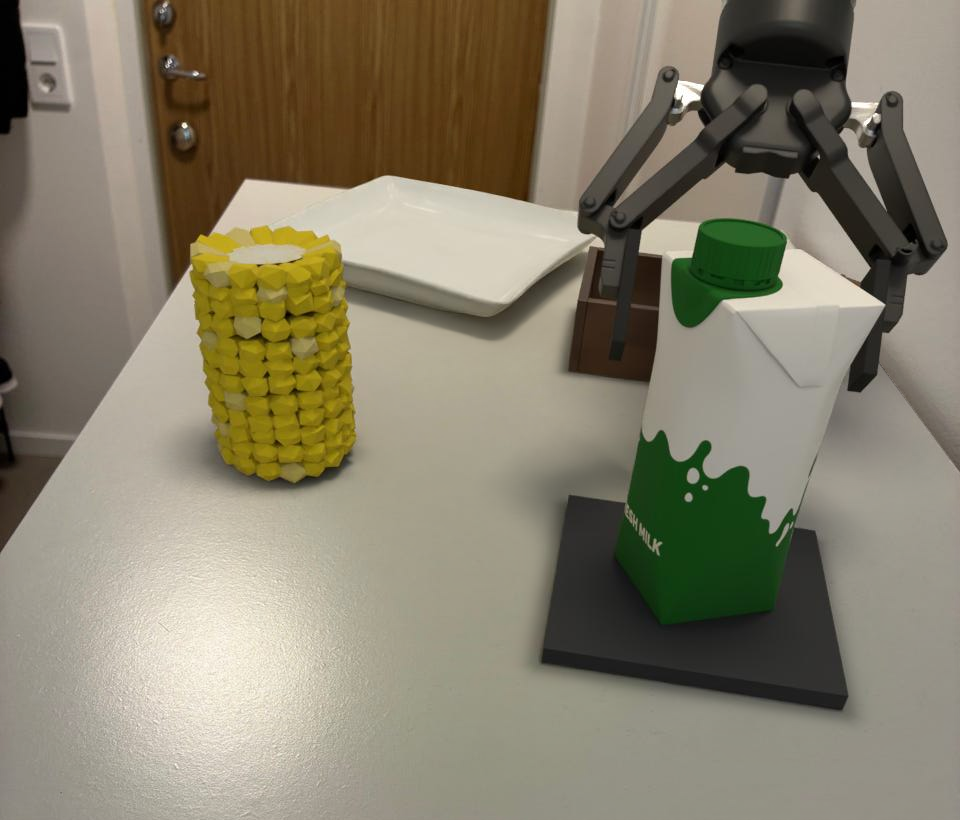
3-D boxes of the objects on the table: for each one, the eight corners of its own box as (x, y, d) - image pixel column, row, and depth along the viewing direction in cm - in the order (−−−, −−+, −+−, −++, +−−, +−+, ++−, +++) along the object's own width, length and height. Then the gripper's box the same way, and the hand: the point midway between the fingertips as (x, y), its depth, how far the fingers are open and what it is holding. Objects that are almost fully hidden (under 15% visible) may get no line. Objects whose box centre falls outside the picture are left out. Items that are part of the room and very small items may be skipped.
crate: (726, 330, 91) (741, 265, 87) (732, 393, 80) (750, 322, 77) (580, 311, 92) (589, 245, 88) (567, 371, 81) (577, 299, 78)
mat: (811, 543, 64) (815, 530, 63) (843, 709, 52) (848, 695, 51) (567, 507, 65) (568, 494, 64) (541, 661, 53) (543, 647, 52)
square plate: (384, 205, 112) (385, 169, 110) (609, 257, 104) (614, 219, 102) (240, 273, 93) (236, 230, 90) (501, 343, 85) (505, 298, 82)
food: (266, 522, 64) (204, 459, 70) (416, 444, 68) (344, 392, 74) (183, 301, 53) (119, 251, 59) (367, 224, 57) (288, 185, 63)
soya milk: (593, 548, 60) (654, 202, 47) (726, 533, 62) (818, 200, 49) (652, 639, 53) (742, 267, 40) (798, 619, 56) (926, 261, 43)
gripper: (977, 81, 59) (938, 419, 58) (569, 37, 61) (517, 363, 59) (1041, -13, 52) (998, 371, 50) (574, -60, 54) (515, 309, 52)
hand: (737, 368), depth 55 cm, fingers open, 13 cm apart
